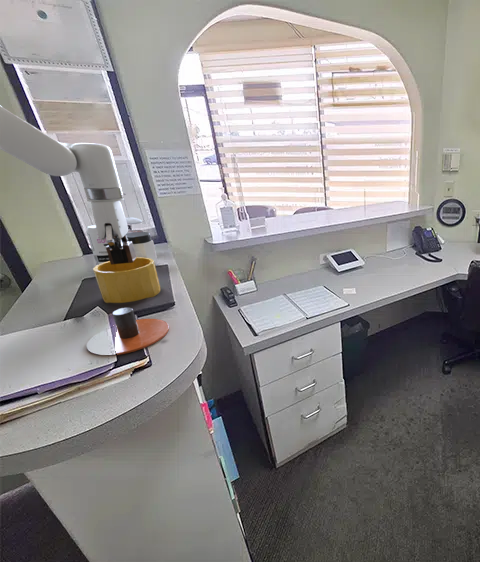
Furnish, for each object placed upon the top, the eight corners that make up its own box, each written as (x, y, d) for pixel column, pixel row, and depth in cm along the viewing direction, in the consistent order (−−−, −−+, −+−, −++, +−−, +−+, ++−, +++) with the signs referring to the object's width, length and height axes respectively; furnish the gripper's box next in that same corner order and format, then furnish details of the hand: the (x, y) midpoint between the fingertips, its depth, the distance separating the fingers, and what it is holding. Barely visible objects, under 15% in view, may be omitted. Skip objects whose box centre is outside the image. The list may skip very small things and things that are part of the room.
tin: (97, 308, 84) (86, 275, 80) (110, 289, 95) (101, 260, 91) (157, 299, 89) (149, 269, 86) (162, 283, 101) (156, 255, 97)
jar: (126, 270, 109) (117, 237, 105) (132, 263, 116) (123, 232, 112) (156, 268, 113) (149, 236, 108) (160, 261, 120) (153, 231, 115)
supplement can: (114, 262, 117) (102, 222, 112) (132, 264, 116) (121, 224, 110) (91, 269, 110) (78, 227, 104) (111, 271, 108) (98, 229, 103)
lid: (77, 365, 61) (64, 335, 59) (98, 329, 74) (89, 303, 71) (166, 348, 68) (158, 319, 65) (172, 317, 80) (166, 293, 78)
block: (111, 264, 85) (105, 247, 83) (115, 259, 89) (110, 242, 87) (133, 262, 87) (128, 245, 85) (136, 257, 91) (132, 241, 89)
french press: (149, 257, 123) (133, 193, 114) (113, 259, 119) (94, 193, 110) (156, 251, 132) (141, 190, 122) (123, 252, 128) (105, 190, 119)
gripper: (96, 191, 87) (114, 253, 93) (75, 199, 73) (98, 271, 79) (129, 190, 90) (144, 250, 97) (115, 198, 76) (134, 267, 83)
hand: (123, 259), depth 88 cm, fingers closed on block, 5 cm apart
